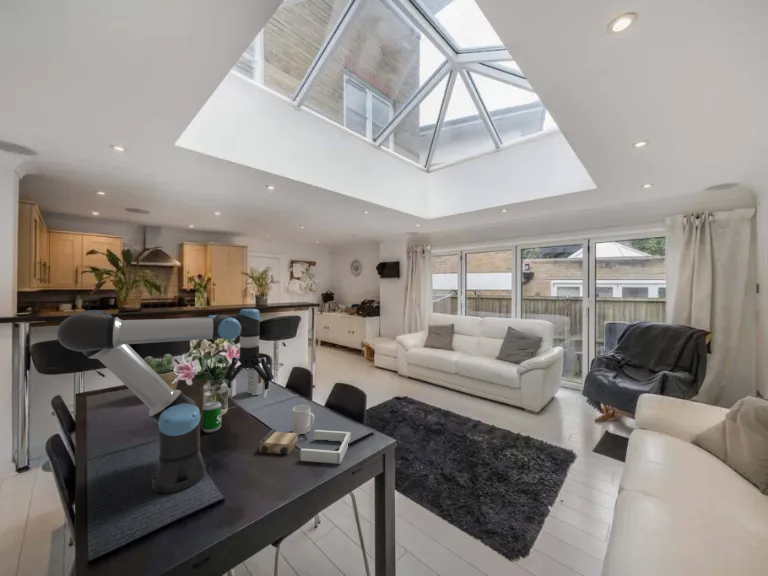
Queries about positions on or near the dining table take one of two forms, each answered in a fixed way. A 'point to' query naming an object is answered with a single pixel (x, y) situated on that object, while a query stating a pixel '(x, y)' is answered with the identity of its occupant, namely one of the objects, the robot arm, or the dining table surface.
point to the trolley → (278, 442)
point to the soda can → (211, 416)
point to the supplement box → (255, 381)
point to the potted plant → (163, 369)
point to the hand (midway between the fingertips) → (248, 396)
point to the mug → (302, 419)
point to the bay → (327, 455)
